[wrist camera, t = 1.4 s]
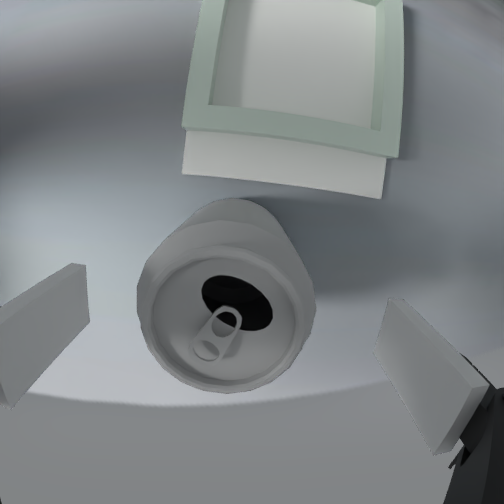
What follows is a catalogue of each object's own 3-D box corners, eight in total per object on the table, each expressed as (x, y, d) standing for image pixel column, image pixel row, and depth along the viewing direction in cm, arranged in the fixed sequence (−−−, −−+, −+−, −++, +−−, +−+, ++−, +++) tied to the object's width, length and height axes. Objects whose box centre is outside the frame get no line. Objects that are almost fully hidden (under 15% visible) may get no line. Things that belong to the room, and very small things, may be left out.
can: (307, 236, 23) (366, 305, 11) (247, 316, 24) (248, 431, 13) (219, 175, 21) (188, 182, 10) (162, 262, 23) (94, 346, 11)
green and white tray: (183, 173, 21) (175, 174, 19) (221, -53, 16) (219, -70, 14) (377, 198, 22) (392, 202, 20) (387, -23, 17) (399, -36, 15)
